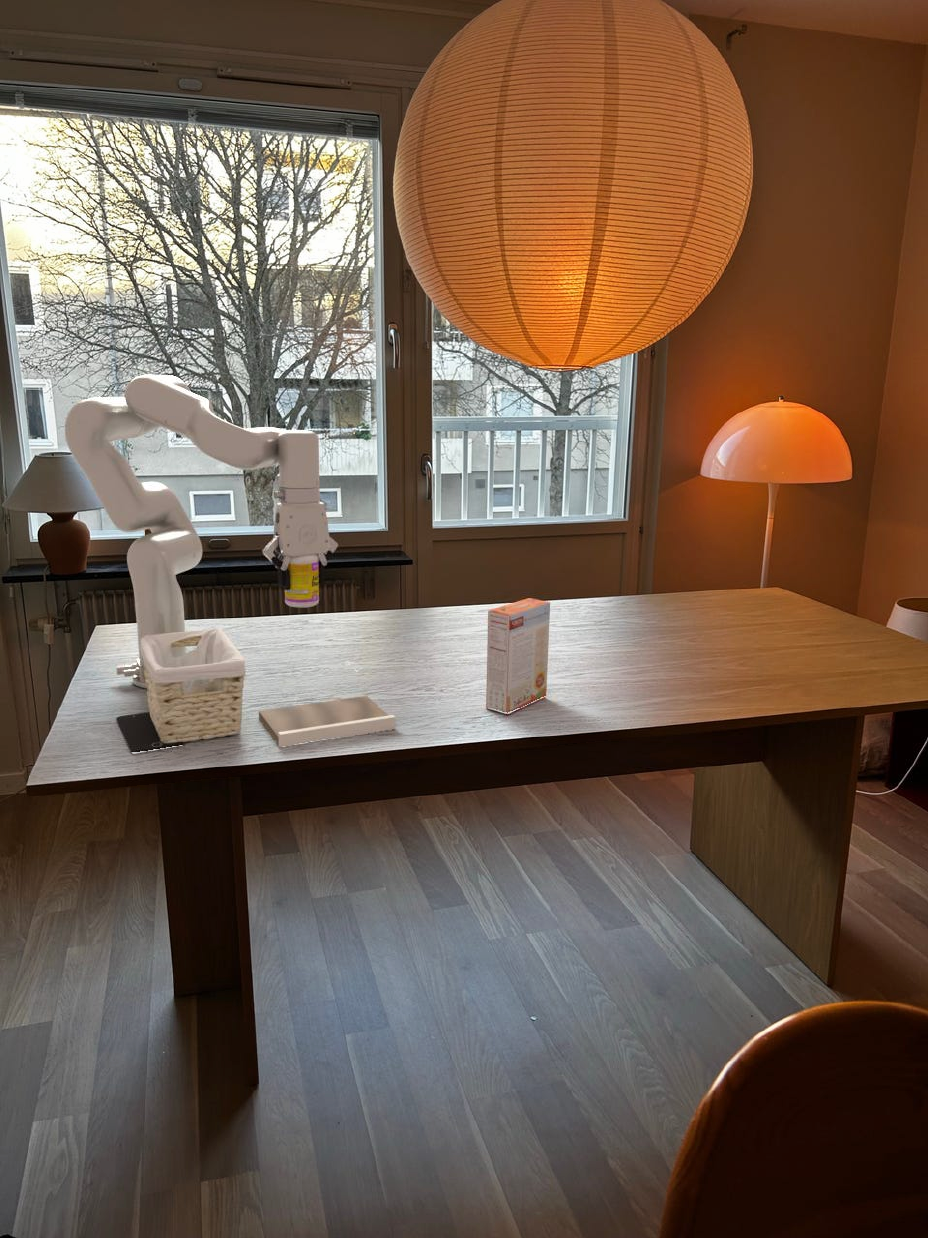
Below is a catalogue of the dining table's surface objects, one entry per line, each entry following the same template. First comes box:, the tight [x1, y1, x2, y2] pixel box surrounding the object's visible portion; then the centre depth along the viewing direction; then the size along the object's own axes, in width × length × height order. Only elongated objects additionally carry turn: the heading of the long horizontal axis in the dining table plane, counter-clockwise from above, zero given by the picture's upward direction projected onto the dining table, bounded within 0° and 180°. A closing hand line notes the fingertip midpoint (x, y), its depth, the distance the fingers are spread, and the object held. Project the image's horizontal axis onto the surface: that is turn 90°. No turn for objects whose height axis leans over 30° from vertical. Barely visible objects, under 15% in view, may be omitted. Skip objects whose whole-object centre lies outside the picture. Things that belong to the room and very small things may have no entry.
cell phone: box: [116, 711, 185, 753], centre depth 164 cm, size 9×18×1 cm, turn 29°
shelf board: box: [258, 695, 389, 745], centre depth 170 cm, size 22×14×2 cm, turn 117°
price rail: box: [278, 714, 396, 748], centre depth 164 cm, size 22×1×2 cm, turn 117°
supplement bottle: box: [284, 554, 320, 608], centre depth 176 cm, size 7×7×13 cm
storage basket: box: [140, 628, 246, 743], centre depth 168 cm, size 24×16×15 cm
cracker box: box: [485, 597, 551, 713], centre depth 181 cm, size 14×6×21 cm, turn 141°
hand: (301, 585), depth 176 cm, fingers closed on supplement bottle, 6 cm apart
